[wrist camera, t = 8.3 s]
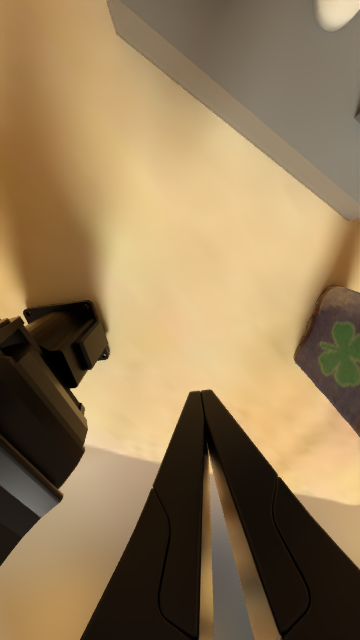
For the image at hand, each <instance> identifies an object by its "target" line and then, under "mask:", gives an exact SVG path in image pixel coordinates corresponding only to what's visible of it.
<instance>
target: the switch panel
mask: <svg viewBox="0 0 360 640" xmlns="http://www.w3.org/2000/svg"><path fill="white" fill-rule="evenodd" d="M106 1H107V4H108V7H109V11H110V14H111V17H112V20H113V24H114V27H115V30H116V34H117V35H118V36H120V37H121V38H122V39H123V40H125V41H126V42H127V43H128V44H130V45H131V46H132V47H133V48H135V49H136V50H137V51H138V52H140V53H141V54H142V55H143V56H144V57H146V58H147V59H148V60H149V61H151V62H152V63H153V64H154V65H156V66H157V67H158V68H159V69H161V70H162V71H163V72H164V73H166V74H167V75H168V76H169V77H170V78H172V79H173V80H174V81H175V82H177V83H178V84H179V85H180V86H182V87H183V88H184V89H185V90H187V91H188V92H189V93H190V94H192V95H193V96H194V97H195V98H197V99H198V100H199V101H200V102H201V103H203V104H204V105H205V106H206V107H208V108H209V109H210V110H211V111H213V112H214V113H215V114H216V115H218V116H219V117H220V118H221V119H223V120H224V121H225V122H226V123H227V124H229V125H230V126H231V127H232V128H234V129H235V130H236V131H237V132H239V133H240V134H241V135H242V136H244V137H245V138H246V139H247V140H249V141H250V142H251V143H252V144H254V145H255V146H256V147H257V148H258V149H260V150H261V151H262V152H263V153H265V154H266V155H267V156H268V157H270V158H271V159H272V160H273V161H275V162H276V163H277V164H278V165H280V166H281V167H282V168H283V169H285V170H286V171H287V172H288V173H289V174H291V175H292V176H293V177H294V178H296V179H297V180H298V181H299V182H301V183H302V184H303V185H304V186H306V187H307V188H308V189H309V190H311V191H312V192H313V193H314V194H315V195H317V196H318V197H319V198H320V199H322V200H323V201H324V202H325V203H327V204H328V205H329V206H330V207H332V208H333V209H334V210H335V211H337V212H338V213H339V214H340V215H342V216H343V217H344V218H345V219H346V220H348V221H353V220H360V0H106Z"/></svg>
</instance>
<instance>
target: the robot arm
mask: <svg viewBox="0 0 360 640" xmlns="http://www.w3.org/2000/svg"><path fill="white" fill-rule="evenodd" d="M85 304H87V305H88V306H89V308H87V307H86V306H85ZM29 312H30V313H31V314H32V315H31V314H30V313H29ZM23 314H24V316H25V318H26V320H27V322H28V325H27V326H24V325H23V324H24V322H23V320H22V319H21V317H20V316H18V317H15V318H12V319H8V318H6V319H2V320H1V319H0V566H1V565H2V563H3V562H4V561H5V559H6V558H7V556H8V555H9V554H10V553H11V551H12V550H13V549H14V548H15V546H16V545H17V544H18V542H19V541H20V540H21V539H22V537H23V536H24V535H25V534H26V533H27V532H28V531H29V530H30V529H31V528H32V527H33V526H34V524H36V523H37V522H38V520H39V519H40V518H41V517H43V516H44V515H45V514H46V513H47V512H49V511H50V510H51V509H52V508H53V507H55V506H56V505H57V504H58V503H60V502H61V500H62V498H63V493H61V491H59V490H58V489H59V488H60V487H61V486H62V485H63V484H64V483H65V481H66V480H67V479H68V477H69V476H70V474H71V473H72V472H73V471H74V469H75V468H76V466H77V465H78V463H79V461H80V459H81V458H82V456H83V454H84V452H85V447H84V446H83V445H84V442H85V438H86V434H87V431H88V427H87V420H86V418H85V417H84V411H85V407H84V406H83V405H82V403H79V402H78V400H77V399H76V397H75V396H74V395H73V393H72V392H71V390H70V388H76V387H77V386H78V385H79V383H80V382H81V380H82V378H83V377H84V375H85V374H86V372H87V371H88V370H91V369H92V368H93V367H94V365H95V363H96V362H97V361H100V360H106V359H108V357H109V355H110V353H109V350H108V347H107V344H108V342H107V339H106V336H105V333H104V330H103V327H102V324H101V322H100V321H99V320H98V317H97V314H96V311H95V308H94V305H93V303H92V302H91V301H89V300H84V301H76V302H68V303H61V304H53V305H46V306H38V307H31V308H27V309H25V310H24V311H23ZM103 354H105V355H106V356H104V355H103ZM207 444H208V445H207ZM208 451H209V454H208ZM209 456H210V461H211V465H212V469H213V473H214V477H215V481H216V485H217V489H218V493H219V497H220V502H221V506H222V510H223V513H224V518H225V522H226V525H227V530H228V534H229V537H230V542H231V546H232V550H233V554H234V558H235V562H236V566H237V570H238V574H239V578H240V582H241V586H242V590H243V594H244V599H245V602H246V607H247V610H248V615H249V618H250V622H251V627H252V631H253V635H254V639H255V640H360V569H359V568H358V567H357V566H356V565H355V564H354V563H353V562H352V561H351V560H350V558H349V557H348V556H347V555H346V554H345V553H344V552H343V551H342V550H341V549H340V548H339V546H338V545H337V544H336V543H335V542H334V541H333V540H332V539H331V537H329V535H328V534H327V533H326V532H325V531H324V529H323V528H322V527H321V526H320V525H319V524H318V523H317V522H316V521H315V519H314V518H313V517H312V516H311V515H310V514H309V512H308V511H307V510H306V509H305V507H304V506H303V505H302V504H301V503H300V501H299V500H298V499H297V498H296V497H295V495H294V494H293V493H292V492H291V490H290V489H289V488H288V486H287V485H286V484H285V483H284V481H283V480H282V479H281V478H280V477H278V474H277V473H276V471H275V470H274V469H273V467H272V466H271V465H270V464H269V462H268V461H267V460H266V459H265V457H264V456H263V455H262V453H261V452H260V451H259V450H258V448H257V447H256V446H255V444H254V443H253V442H252V441H251V439H250V438H249V437H248V436H247V434H246V433H245V432H244V430H243V429H242V428H241V427H240V425H239V424H238V423H237V422H236V420H235V419H234V418H233V416H232V415H231V414H230V413H229V411H228V410H227V409H226V407H225V406H224V405H223V404H222V402H221V401H220V400H219V399H218V397H217V396H216V395H215V393H214V392H213V391H212V390H202V391H201V392H200V391H192V392H190V393H189V395H188V397H187V400H186V402H185V405H184V407H183V410H182V412H181V415H180V418H179V420H178V423H177V425H176V428H175V430H174V433H173V435H172V438H171V440H170V443H169V445H168V448H167V450H166V453H165V456H164V458H163V461H162V463H161V466H160V468H159V471H158V473H157V476H156V479H155V481H154V483H153V488H152V489H151V491H150V493H149V496H148V498H147V501H146V503H145V506H144V508H143V510H142V513H141V516H140V518H139V520H138V522H137V525H136V527H135V529H134V532H133V534H132V536H131V538H130V540H129V542H128V544H127V546H126V548H125V550H124V552H123V555H122V557H121V559H120V561H119V563H118V565H117V567H116V569H115V571H114V573H113V575H112V577H111V579H110V581H109V583H108V585H107V587H106V589H105V591H104V593H103V595H102V597H101V599H100V601H99V603H98V605H97V607H96V609H95V611H94V613H93V615H92V617H91V619H90V621H89V623H88V625H87V627H86V629H85V631H84V633H83V635H82V637H81V639H80V640H214V621H213V588H212V551H211V518H210V517H211V516H210V481H209Z"/></svg>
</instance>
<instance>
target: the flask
mask: <svg viewBox="0 0 360 640" xmlns="http://www.w3.org/2000/svg"><path fill="white" fill-rule="evenodd" d="M316 305H317V307H316V310H315V312H314V314H313V315H312V317H311V318H310V321H309V322H308V325H307V326H306V327H307V328H306V329H307V330H306V331H307V333H306V335H305V336H304V337H302V343H301V345H300V346H299V347H298V349H297V351H296V353H295V355H294V356H293V357H294V360H295V362H296V363H295V364H297V365H298V366H299V367H300V368H301V369H302V370H303V371H304V372H305V373H306V374H307V376H308V377H309V378H310V379H311V380H312V381H313V383H314V384H315V386H316V387H317V388H318V389H319V390H320V391H321V392H322V393H323V394H324V395H325V396H326V397H327V398H328V400H329V401H330V402H331V403H332V405H333V406H334V407H335V408H336V409H337V411H338V412H339V413H340V414H341V416H342V417H343V418H344V419H345V420H346V421H347V422H348V423H349V424H350V425H351V427H352V428H353V429H354V431H355V432H356V433H357V434H358V436H359V437H360V293H359V292H356V291H353V290H350V289H347V288H345V287H342V286H332V287H328V288H327V290H326V291H325V292H324V293H323V294H322V295H321V296H320V298H319V299H318V301H317V303H316Z"/></svg>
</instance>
